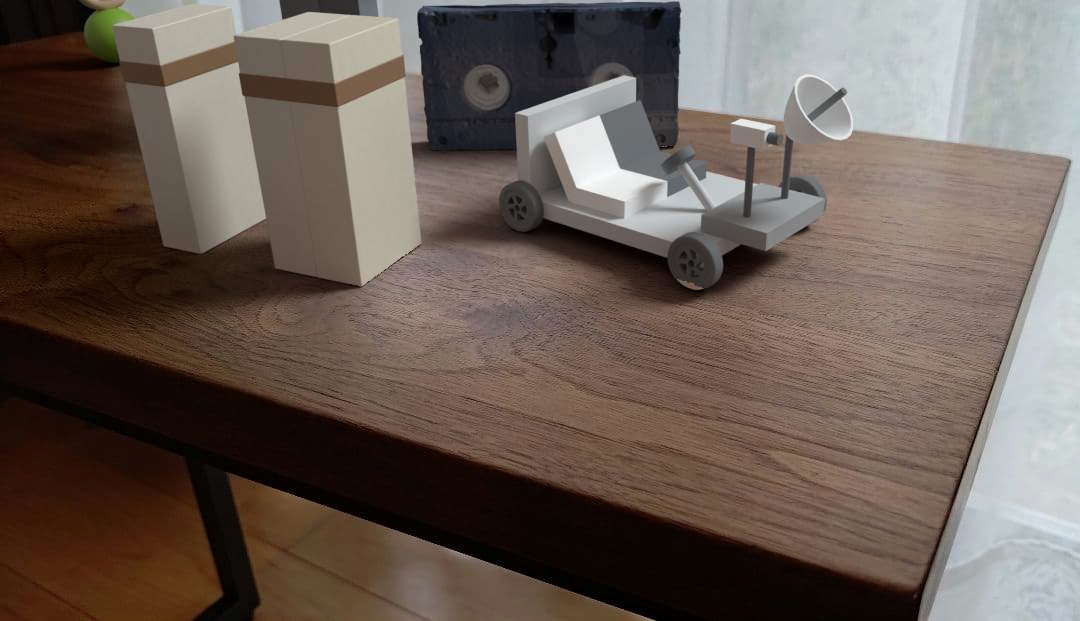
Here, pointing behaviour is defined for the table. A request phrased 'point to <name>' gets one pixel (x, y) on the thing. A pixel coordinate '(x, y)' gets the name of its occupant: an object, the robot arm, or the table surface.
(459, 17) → the vhs cassette tape
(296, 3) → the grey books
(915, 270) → the table surface
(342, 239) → the cream brown-striped block
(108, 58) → the snail figurine
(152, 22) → the cream rectangular block
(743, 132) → the toy car
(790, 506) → the table surface
